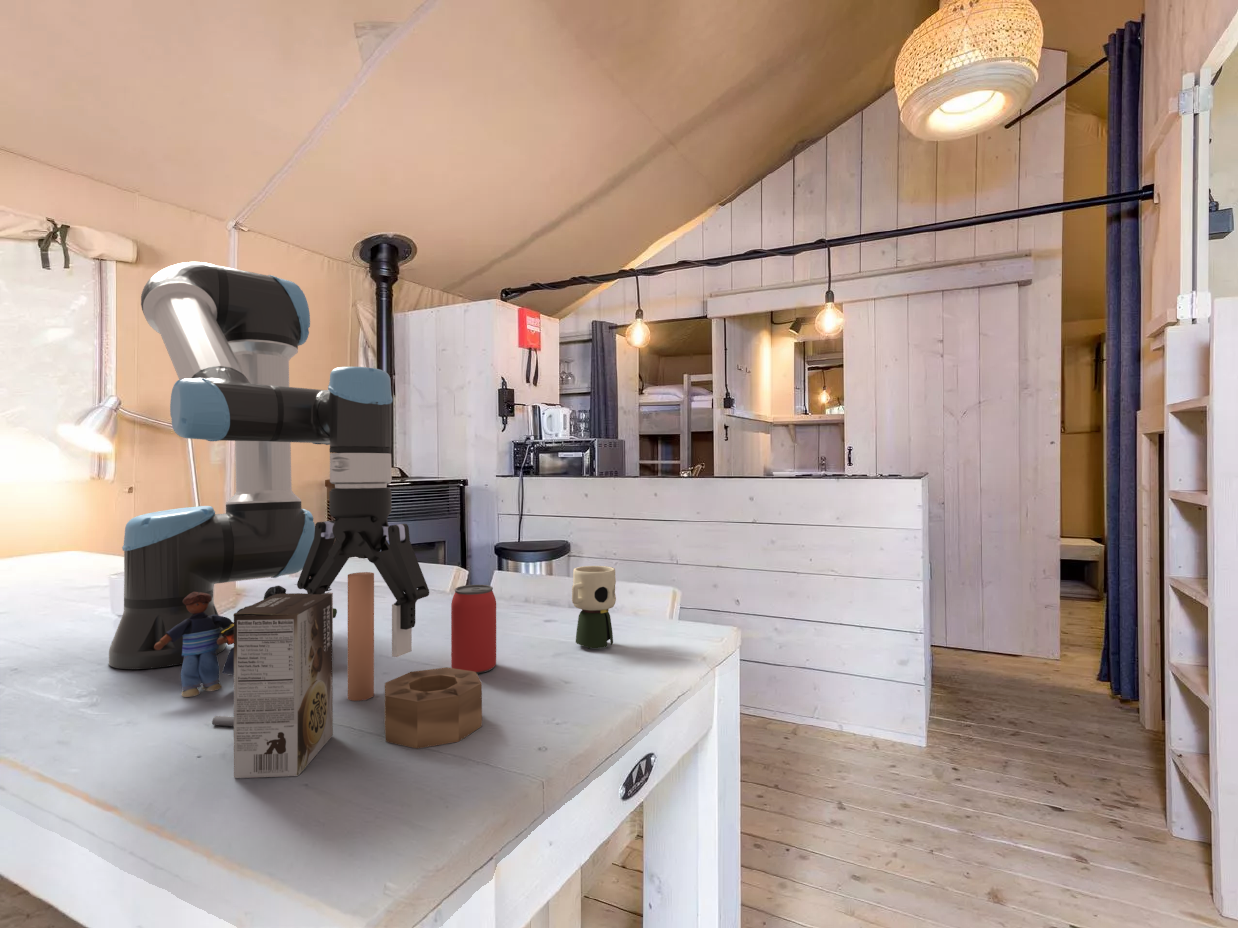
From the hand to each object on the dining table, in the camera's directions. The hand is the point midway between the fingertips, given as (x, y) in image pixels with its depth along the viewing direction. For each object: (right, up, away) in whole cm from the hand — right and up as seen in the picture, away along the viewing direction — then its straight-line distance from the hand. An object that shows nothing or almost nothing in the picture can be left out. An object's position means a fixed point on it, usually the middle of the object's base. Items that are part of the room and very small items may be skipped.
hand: (360, 648), depth 81 cm
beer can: (+12, -7, +11) cm, 18 cm away
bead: (+12, -6, -9) cm, 17 cm away
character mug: (+30, -7, +22) cm, 38 cm away
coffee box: (-1, -6, -17) cm, 18 cm away
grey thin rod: (-8, -6, -10) cm, 14 cm away
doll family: (-19, -7, +8) cm, 21 cm away
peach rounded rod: (0, -6, 0) cm, 6 cm away
